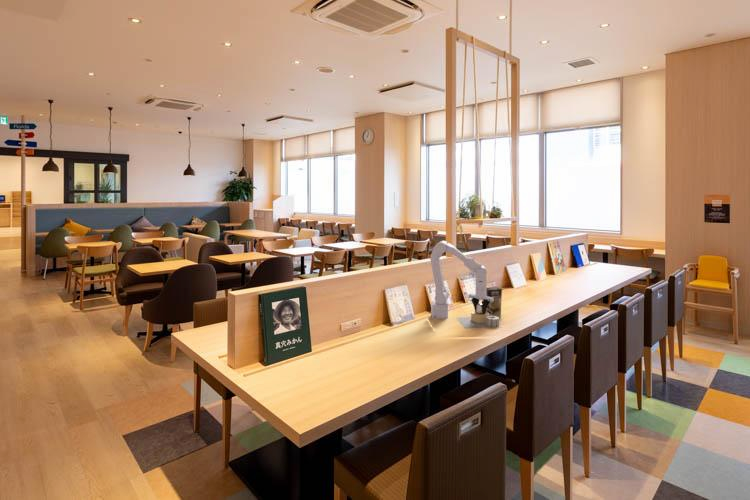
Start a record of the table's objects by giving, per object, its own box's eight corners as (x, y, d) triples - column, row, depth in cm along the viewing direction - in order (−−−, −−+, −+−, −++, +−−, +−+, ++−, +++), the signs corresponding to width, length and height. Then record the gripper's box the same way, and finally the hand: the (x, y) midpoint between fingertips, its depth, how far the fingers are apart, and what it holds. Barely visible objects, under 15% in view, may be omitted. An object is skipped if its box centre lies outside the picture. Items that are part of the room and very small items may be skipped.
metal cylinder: (477, 317, 248) (477, 305, 247) (475, 315, 252) (475, 303, 251) (484, 317, 248) (484, 304, 247) (482, 315, 252) (482, 302, 251)
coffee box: (487, 317, 258) (487, 290, 256) (481, 314, 265) (482, 287, 262) (501, 316, 261) (502, 289, 259) (495, 313, 267) (496, 286, 265)
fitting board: (464, 330, 236) (464, 320, 235) (456, 319, 256) (456, 310, 255) (502, 329, 237) (502, 319, 236) (491, 318, 257) (491, 309, 256)
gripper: (465, 287, 250) (465, 311, 252) (489, 291, 240) (488, 316, 242) (472, 285, 255) (471, 309, 257) (495, 289, 245) (495, 313, 247)
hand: (480, 312), depth 250 cm, fingers closed on metal cylinder, 4 cm apart
